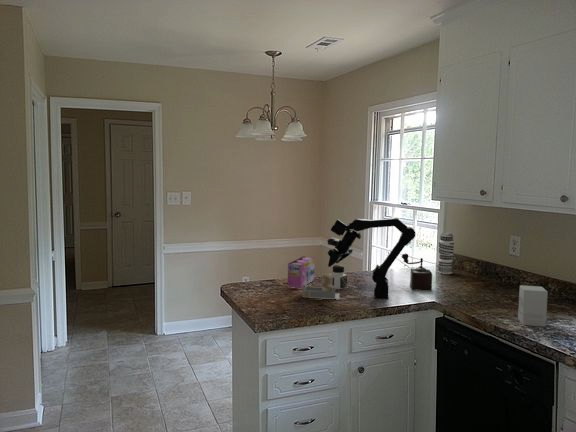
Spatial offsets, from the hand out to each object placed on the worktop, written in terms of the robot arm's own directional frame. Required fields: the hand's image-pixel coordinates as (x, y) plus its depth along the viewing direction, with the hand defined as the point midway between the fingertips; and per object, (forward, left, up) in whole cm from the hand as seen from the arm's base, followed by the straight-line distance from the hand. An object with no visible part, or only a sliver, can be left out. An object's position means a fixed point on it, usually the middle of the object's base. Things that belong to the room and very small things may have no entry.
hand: (332, 264), depth 241 cm
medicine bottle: (-3, -10, -15) cm, 18 cm away
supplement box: (-85, +36, -15) cm, 93 cm away
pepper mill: (-45, -17, -15) cm, 50 cm away
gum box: (+17, -14, -15) cm, 27 cm away
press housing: (+5, +10, -15) cm, 18 cm away
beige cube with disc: (+2, +10, -13) cm, 17 cm away
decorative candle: (-69, -59, -15) cm, 92 cm away
